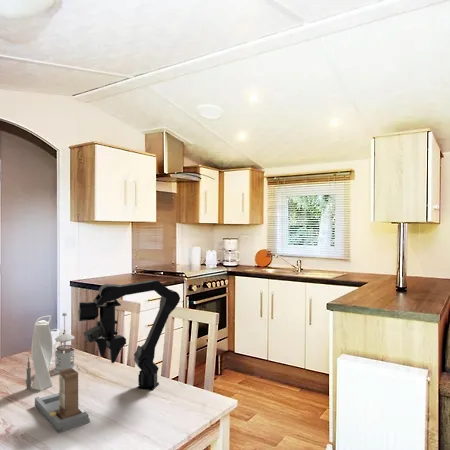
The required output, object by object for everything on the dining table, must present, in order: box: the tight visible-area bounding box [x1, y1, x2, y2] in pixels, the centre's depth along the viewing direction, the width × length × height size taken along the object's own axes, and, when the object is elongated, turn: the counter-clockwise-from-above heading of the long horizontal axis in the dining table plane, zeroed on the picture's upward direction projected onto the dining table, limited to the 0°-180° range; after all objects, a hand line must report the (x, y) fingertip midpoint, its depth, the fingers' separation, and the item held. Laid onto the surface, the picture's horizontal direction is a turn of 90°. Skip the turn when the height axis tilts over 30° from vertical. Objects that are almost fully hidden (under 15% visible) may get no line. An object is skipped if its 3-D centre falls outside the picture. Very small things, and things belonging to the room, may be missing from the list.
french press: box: [52, 312, 78, 374], centre depth 176 cm, size 10×12×25 cm
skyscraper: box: [25, 314, 53, 394], centre depth 155 cm, size 8×8×28 cm
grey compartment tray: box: [34, 392, 91, 434], centre depth 133 cm, size 24×10×4 cm, turn 41°
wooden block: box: [56, 368, 82, 420], centre depth 129 cm, size 6×6×14 cm
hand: (107, 359), depth 148 cm, fingers open, 9 cm apart
